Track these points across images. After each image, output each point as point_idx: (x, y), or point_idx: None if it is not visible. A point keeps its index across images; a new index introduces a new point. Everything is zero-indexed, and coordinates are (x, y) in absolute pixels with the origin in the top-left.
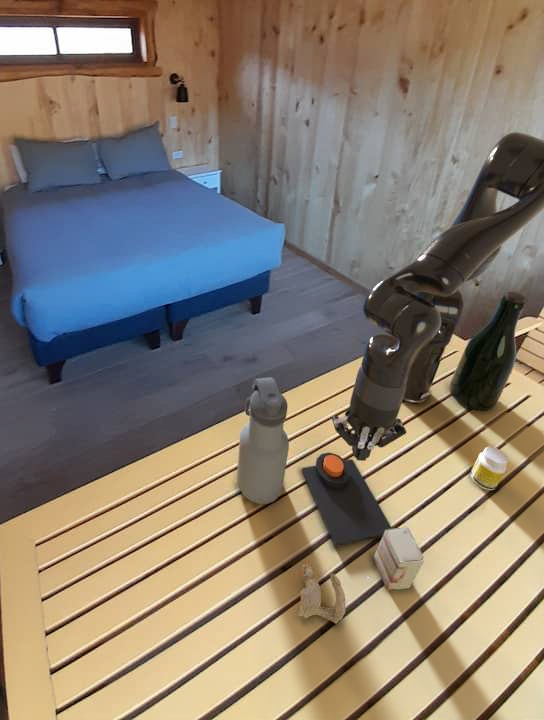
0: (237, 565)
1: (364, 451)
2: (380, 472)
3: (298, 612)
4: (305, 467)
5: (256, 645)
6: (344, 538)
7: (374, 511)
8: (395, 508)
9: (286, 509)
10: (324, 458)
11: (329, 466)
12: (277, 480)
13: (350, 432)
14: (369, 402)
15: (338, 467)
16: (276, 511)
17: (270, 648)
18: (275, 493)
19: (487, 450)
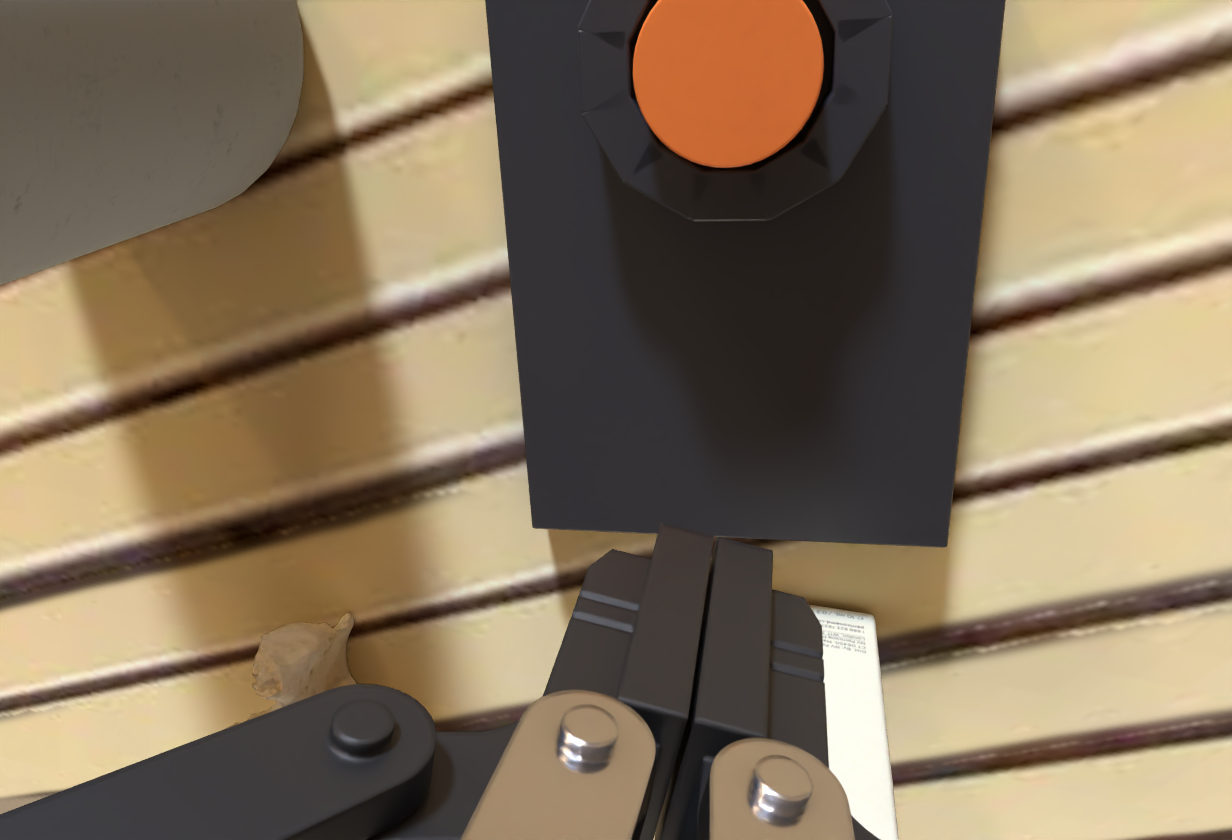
0: (11, 473)
1: (657, 826)
2: (1216, 92)
3: (249, 717)
4: None
5: (92, 724)
6: (597, 518)
7: (900, 418)
8: (1100, 385)
9: (313, 254)
10: None
11: (667, 96)
12: (53, 265)
13: (358, 836)
14: None
15: (751, 119)
16: (246, 254)
17: (144, 743)
18: (170, 222)
19: None
